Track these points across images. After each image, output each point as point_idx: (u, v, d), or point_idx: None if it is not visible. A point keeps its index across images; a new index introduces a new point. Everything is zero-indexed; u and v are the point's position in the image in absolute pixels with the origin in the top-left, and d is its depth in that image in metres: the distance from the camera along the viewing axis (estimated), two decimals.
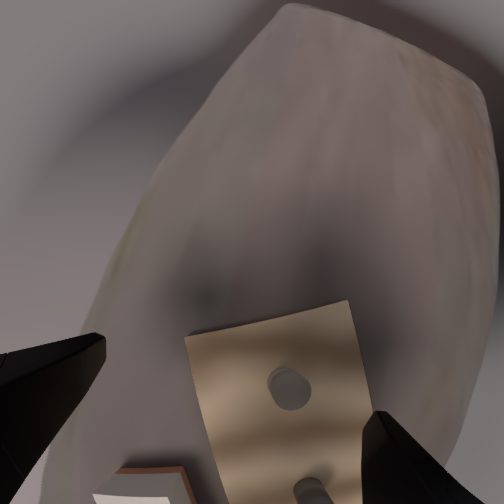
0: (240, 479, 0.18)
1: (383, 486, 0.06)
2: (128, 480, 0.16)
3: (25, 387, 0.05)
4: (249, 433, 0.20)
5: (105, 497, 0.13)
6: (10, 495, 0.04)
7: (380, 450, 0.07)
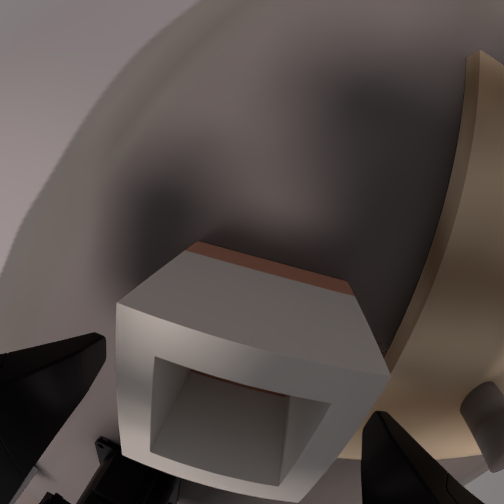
0: (433, 350, 0.10)
1: (383, 486, 0.06)
2: (231, 280, 0.09)
3: (24, 387, 0.05)
4: (499, 268, 0.09)
5: (161, 328, 0.06)
6: (10, 495, 0.04)
7: (380, 450, 0.07)
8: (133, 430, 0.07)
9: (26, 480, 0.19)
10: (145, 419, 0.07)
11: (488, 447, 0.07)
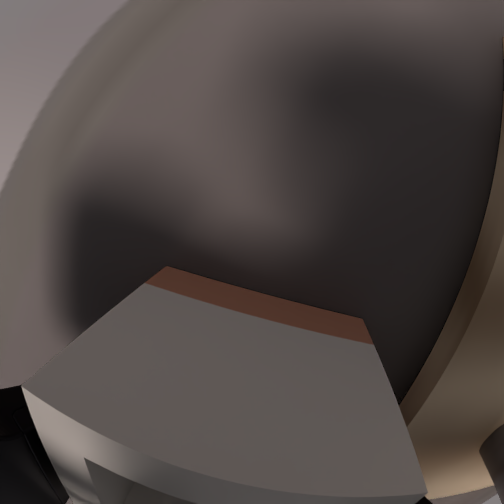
0: (460, 396, 0.07)
1: None
2: (200, 335, 0.06)
3: None
4: None
5: (81, 432, 0.03)
6: None
7: None
8: None
9: None
10: (96, 503, 0.04)
11: None
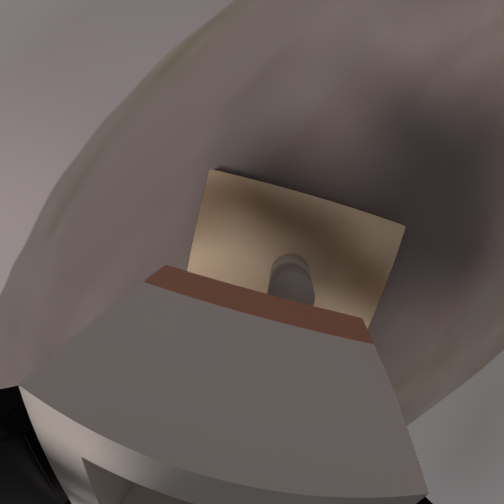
0: None
1: None
2: (199, 334, 0.06)
3: None
4: None
5: (78, 431, 0.03)
6: None
7: None
8: None
9: None
10: (95, 503, 0.04)
11: None
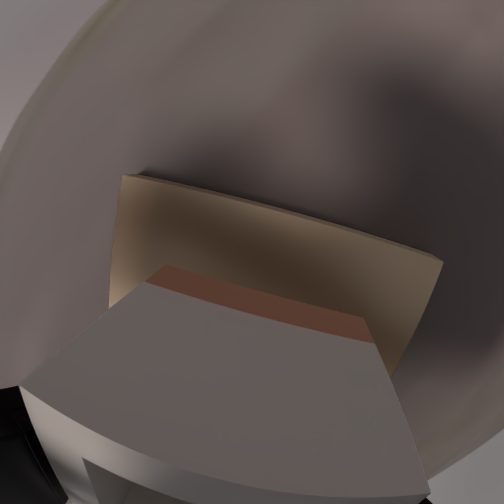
0: None
1: None
2: (200, 334, 0.06)
3: None
4: None
5: (78, 432, 0.03)
6: None
7: None
8: None
9: None
10: None
11: None
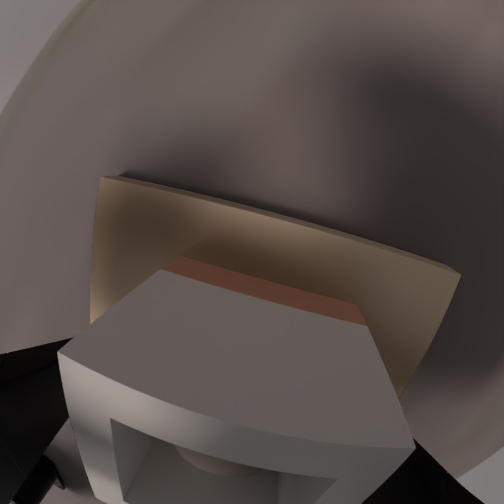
0: None
1: (383, 486, 0.06)
2: (213, 312, 0.07)
3: (25, 387, 0.05)
4: None
5: (112, 390, 0.04)
6: (10, 495, 0.04)
7: None
8: (102, 480, 0.05)
9: None
10: (113, 473, 0.05)
11: None
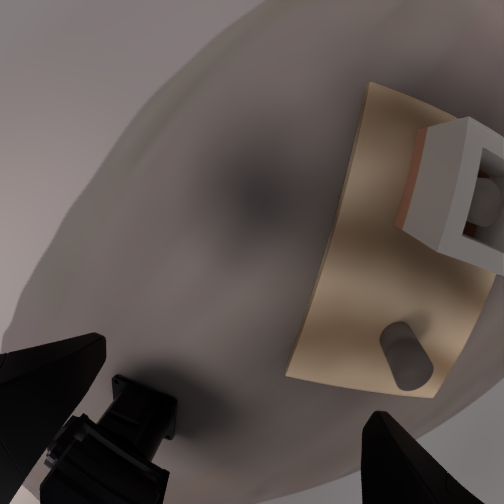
0: (340, 288, 0.18)
1: (383, 486, 0.06)
2: None
3: (24, 387, 0.05)
4: (387, 232, 0.17)
5: (486, 131, 0.09)
6: (10, 495, 0.04)
7: (380, 450, 0.07)
8: (458, 213, 0.10)
9: None
10: (468, 199, 0.10)
11: (393, 366, 0.15)
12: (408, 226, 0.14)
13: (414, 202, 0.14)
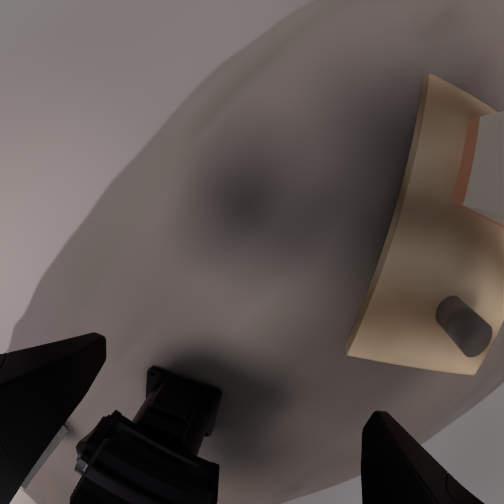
0: (406, 262, 0.17)
1: (383, 486, 0.06)
2: None
3: (25, 387, 0.05)
4: (446, 208, 0.16)
5: None
6: (10, 495, 0.04)
7: (380, 450, 0.07)
8: None
9: (56, 440, 0.26)
10: None
11: (457, 333, 0.15)
12: (470, 201, 0.14)
13: (473, 180, 0.14)
